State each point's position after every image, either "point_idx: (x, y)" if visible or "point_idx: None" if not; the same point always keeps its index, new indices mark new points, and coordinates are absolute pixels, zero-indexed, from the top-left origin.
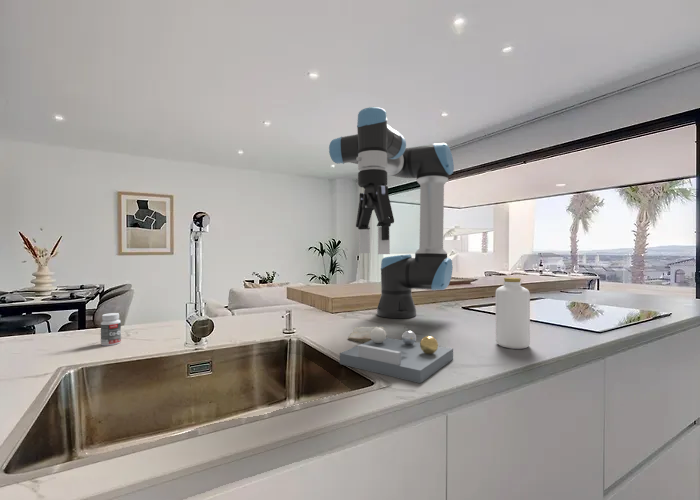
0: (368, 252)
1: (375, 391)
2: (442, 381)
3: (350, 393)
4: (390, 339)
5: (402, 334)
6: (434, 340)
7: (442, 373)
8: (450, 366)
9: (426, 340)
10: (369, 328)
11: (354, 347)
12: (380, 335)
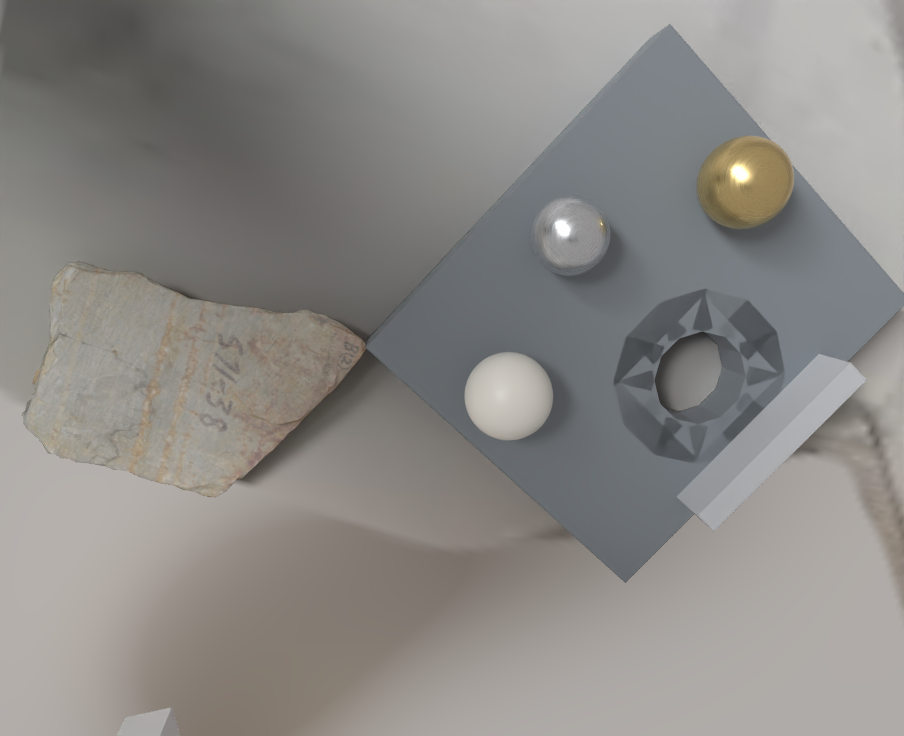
0: (176, 727)
1: (896, 465)
2: (879, 206)
3: (889, 544)
4: (441, 307)
5: (561, 270)
6: (788, 161)
7: (805, 171)
8: (738, 98)
9: (782, 204)
10: (92, 363)
11: (552, 512)
12: (552, 394)
